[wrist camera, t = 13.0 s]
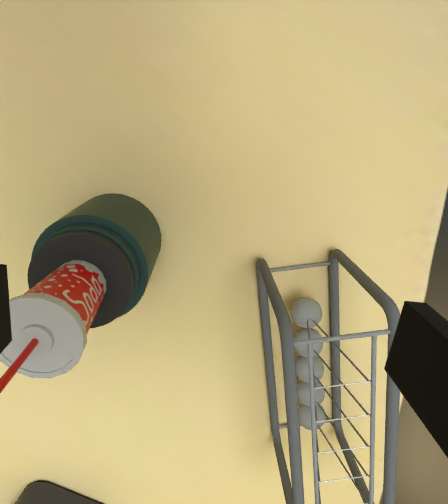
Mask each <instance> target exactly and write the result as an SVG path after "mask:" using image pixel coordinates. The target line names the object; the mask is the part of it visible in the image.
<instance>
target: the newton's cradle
mask: <svg viewBox="0 0 448 504" xmlns="http://www.w3.org/2000/svg"><path fill="white" fill-rule="evenodd" d="M338 262H339V263H340V264H341V265H342V266H343V267H344V268H345V269H346V270H347V271H348V272H349V273H350V274H351V275H352V276H353V277H354V278H355V279H356V281H357V282H358V283H359V284H360V285H361V286H362V287H363V288H364V289H365V290H366V291H367V292H368V293H369V294H370V295H371V296H372V297H373V298H374V299H375V301H376V302H377V303H378V304H379V305H380V306H381V307H382V308H383V310H384V312H385V314H386V317H387V322H388V329H387V330H379V331H371V332H363V333H355V334H347V335H340V334H339V277H338ZM325 265H329V276H330V315H331V337H329V336H328V335H327V334H326V333H325V332H324V331H323V330H322V329H321V328H320V327H319V325H318V323H319V322H320V320H321V317H322V310H321V307H320V305H319V304H318V303H317V302H316V301H315V300H313V299H311V298H300V299H298V300H297V301H296V302H295V303H294V304H293V305H292V308H291V317H292V320H293V321H294V323H295V324H296V325H298V326H299V327H302V328H301V329H299V330H298V331H297V332H296V333H295V335H294V336H293V330H292V325H291V320H290V317H289V314H288V312H287V309H286V307H285V305H284V302H283V300H282V298H281V295H280V293H279V291H278V288H277V286H276V284H275V281H274V279H273V277H272V274H271V272H276V271H285V270H293V269H301V268H309V267H317V266H325ZM256 268H257V280H258V290H259V301H260V311H261V322H262V333H263V343H264V354H265V364H266V375H267V386H268V396H269V407H270V417H271V428H272V436H273V442H274V447H275V452H276V457H277V462H278V467H279V471H280V476H281V481H282V486H283V490H284V495H285V500H286V504H304V489H303V473H302V457H301V442H300V426H303V427H305V428H306V429H309V430H312V447H313V467H314V487H315V504H321V500H320V490H319V483H322V482H330V481H337V480H345V479H351V480H352V481H353V483H354V484H355V486H356V488H357V489H358V491H359V492H360V495H361V497H362V500H363V502H364V504H374V502H373V493H374V443H375V392H376V342H377V335H385V334H388V355H389V351H390V348H391V345H392V342H393V338H394V335H395V332H396V328H397V325H398V322H399V318H400V313H399V310H398V308H397V306H396V304H395V302H394V301H393V300H392V299H391V298H390V297H389V296H388V295H387V294H386V293H385V292H384V291H383V290H382V289H381V288H380V287H379V286H378V285H377V284H376V283H375V282H373V281H372V280H371V279H370V278H369V277H368V276H367V275H366V274H365V273H364V272H363V271H362V270H361V269H360V268H359V267H358V266H357V265H356V264H355V263H353V262H352V261H351V260H350V259H349V258H348V257H347V256H346V255H345V254H344V253H343V252H342V251H341V250H339V249H335V250H333V251H332V252H331V254H330V257H329V262H324V263H316V264H308V265H300V266H292V267H284V268H276V269H269V267H268V265H267V263H266V261H265V260H264V259H262V258H260V259H258V261H257V263H256ZM267 293H268V294H267ZM268 296H269V299H270V301H271V304H272V307H273V310H274V313H275V315H276V318H277V322H278V326H279V331H280V338H281V349H282V362H283V375H284V388H285V401H286V414H287V425H280V426H279V422H278V410H277V399H276V387H275V375H274V364H273V352H272V341H271V329H270V317H269V306H268ZM316 325H317V326H318V327H319V329H320V330H321V331H322V332H323V333H324V334H325V335H326V336H327V337H323V338H322V337H321V335H320V334H319V332H317V331H316V330H315V329H313V328H312V327H314V326H316ZM369 336H372V350H371V380H368V379H367V378H366V376H365V375H364V374H363V373H362V372H361V371H360V370H359V369H358V368H357V367H356V366H355V365H354V363H353V362H352V361H351V360H350V359H349V358H348V357H347V356H346V355H345V354H344V353H343V351H342V350H341V349H340V340H345V339H353V338H361V337H369ZM329 341H331V353H332V370H331V369H330V368H329V366H328V365H327V364H326V363H325V362H324V360H323V359H322V358H321V357H320V356H319V355H318V354H319V353H320V351H321V350H322V347H323V342H329ZM295 351H296V352H297V353H298V354H299V355H300V356H299V357H298V358H297V359H296V361H295ZM340 352H341V353H342V354H343V355H344V356H345V357H346V358H347V359H348V360H349V361H350V363H351V364H352V365H353V366H354V367H355V368H356V369H357V370H358V371H359V372H360V373H361V375H362V376H363V377H364V378H365V379H366V380H367V381H365V382H358V383H366V382H371V414H368V413H367V412H366V410H365V409H364V408H363V407H362V406H361V404H360V403H359V402H358V401H357V400H356V398H355V397H354V396H353V395H352V394H351V393H350V391H349V390H348V389H347V388H346V387H345V385H350V384H358V383H350V384H343V383H342V382H341V381H340ZM316 355H318V356H316ZM387 358H388V357H387ZM321 360H322V361H323V363H324V364H325V365H326V366H327V367H328V369H329V370H330V371H331V372H332V386H326V387H324V386H323V385H322V384H321V382H320V381H319V379H320V378H321V377H322V375H323V372H324V366H323V363H322V361H321ZM296 375H297V377H298V378H299V379H300V381H299V383H298V384H297V378H296ZM340 383H341V384H342V385H343V387H344V388H345V389H346V390H347V391H348V393H349V394H350V395H351V396H352V397H353V398H354V400H355V401H356V402H357V403H358V404H359V406H360V407H361V408H362V409H363V410H364V412H365V413H366V414H367V415H363V416H355V417H346V415H345V414H344V413H343V411H342V410H341V392H340V386H342V385H340ZM327 387H332V392H333V398H332V397H331V396H330V394H329V393H328V392H327V390H326V389H325V388H327ZM324 390H325V391H326V392H327V394H328V395H329V396H330V398H331V399H332V400H333V419H329V418H328V416H327V415H326V413H325V411H324V409H323V407H322V406H321V405H320V403H321V402H322V401H323V399H324V395H325V392H324ZM298 400H299V401H300V402H301V403H302V404H301V405H300V406H299V408H298ZM399 400H400V390H399V389H398V387H397V386H396V385H395V383H394V382H393V380H392V379H391V378H390V376H389V375H388V373H387V389H386V420H385V452H384V484H383V504H395V487H396V486H395V485H396V464H397V442H398V422H399ZM341 412H342V414H343V415H344V416H345V418H341ZM325 416H326V417H327V419H328V420H325ZM364 416H371V417H370V446H369V445H368V444H367V443H366V442H365V441H364V439H363V438H362V437H361V435H360V434H359V433H358V431H357V430H356V429H355V427H354V426H353V425H352V423H351V422H350V421H349V419H348V418H356V417H364ZM341 419H347V420H348V422H349V423H350V424H351V426H352V427H353V428H354V430H355V431H356V432H357V434H358V435H359V436H360V438H361V439H362V440H363V442H364V443H365V444H366V447H358V448H349V445H348V443H347V441H346V439H345V436H344V433H343V430H342V425H341ZM299 422H300V423H299ZM327 422H330V423H331V424H332V422H333V423H334V425H333V424H332V426H333V427H334V429H335V433H336V437H337V439H338V442H339V444H340V447H341V449H342V450H334V449H333V447H332V446H331V444H330V443H329V441H328V440H327V438H326V436H325V435H324V433H323V432H322V430H321V429H320V427H321V426H322V425H323V424H324V423H327ZM279 428H288V441H289V454H290V467H291V480H292V487H291V482H290V478H289V474H288V470H287V465H286V461H285V457H284V452H283V448H282V444H281V439H280V432H279ZM317 429H320V431H321V432H322V434H323V436H324V437H325V439H326V440H327V442H328V443H329V445H330V447H331V448H332V450H333V451H326V452H319V449H318V440H317V431H316V430H317ZM367 447H370V475H368V474H367V473H366V471H365V470H364V468H363V467H362V466H361V464H360V463H359V461H358V460H357V458H356V457H355V455H354V454H353V453H352V451H351V449H359V448H367ZM335 451H343V454H344V456H345V459H346V461H347V463H348V466H349V468H350V471H351V473H352V476H353V477H351V476H350V474H349V472H348V471H347V469H346V468H345V466H344V465H343V463H342V461H341V460H340V458H339V457H338V455H337V454H336V452H335ZM327 452H334V453H335V454H336V456H337V458H338V459H339V461H340V462H341V464H342V465H343V467H344V469H345V470H346V472H347V473H348V475H349V477H350V478H344V479H337V480H329V481H321V482H320V475H319V466H318V456H317V454H319V453H327ZM354 458H355V459H356V461H357V462H358V464H359V465H360V467H361V468H362V470H363V471H364V473H365V474H366V475H367V476H362V475H361V473H360V470H359V468H358V466H357V464H356V461H355V459H354ZM363 477H370V484H369V491H368V489H367V486H366V484H365V482H364V479H363ZM353 478H354V480H355V482H354V480H353Z"/></svg>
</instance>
